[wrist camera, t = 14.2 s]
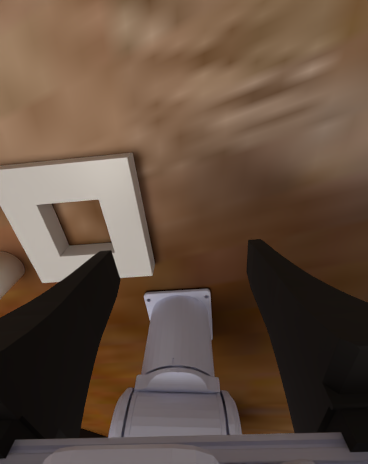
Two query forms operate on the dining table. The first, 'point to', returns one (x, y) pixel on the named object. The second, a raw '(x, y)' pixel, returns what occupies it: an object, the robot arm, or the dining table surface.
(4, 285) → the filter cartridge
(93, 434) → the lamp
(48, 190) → the white square frame
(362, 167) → the dining table surface
